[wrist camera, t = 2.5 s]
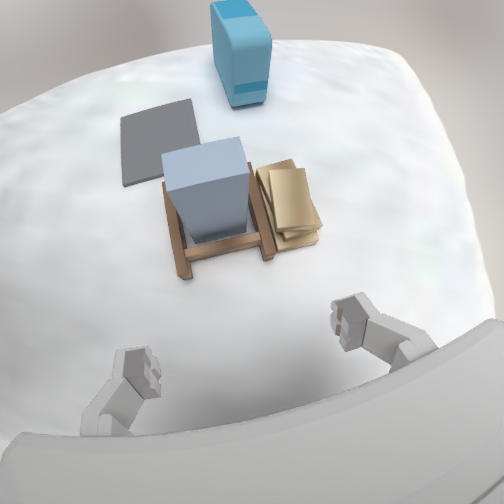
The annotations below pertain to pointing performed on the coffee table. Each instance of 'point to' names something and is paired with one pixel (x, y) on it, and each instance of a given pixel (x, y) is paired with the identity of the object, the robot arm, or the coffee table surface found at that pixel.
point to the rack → (224, 246)
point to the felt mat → (155, 139)
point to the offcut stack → (288, 205)
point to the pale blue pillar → (209, 188)
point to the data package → (241, 51)
